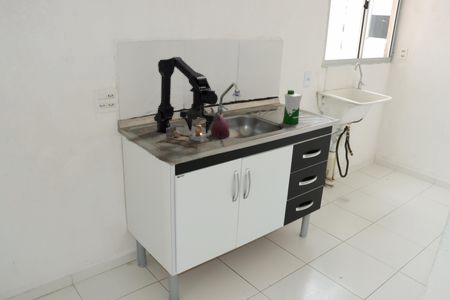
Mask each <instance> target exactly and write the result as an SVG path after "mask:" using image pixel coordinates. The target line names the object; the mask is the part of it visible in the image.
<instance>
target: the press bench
mask: <svg viewBox="0 0 450 300" xmlns="http://www.w3.org/2000/svg"><path fill="white" fill-rule="evenodd" d="M189 135H190V134H186V133H185V134H184V133H180V131H178V130H177V125H170V127H169V128H166V133H165V136H166V137H165V138H163V142H165V143H171V144H175V145H181V146H187V147H193V148H196V149H197V148H198V149H199V148H200V147H201V146H203V145H206V144H207V143H209V142H210V139H209V138H206V140H205V141H204V142H202V143H198V142H194V141H189Z"/></svg>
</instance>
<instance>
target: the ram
mask: <svg viewBox="0 0 450 300" xmlns="http://www.w3.org/2000/svg"><path fill="white" fill-rule="evenodd" d="M202 129H203V127H202V125H201V124H196V125H195V131H194V132H192V133H190V134H188V135H189V141H194V142H198V143H202V142H204V141H205V140H206V139H207V134H206V133H202Z"/></svg>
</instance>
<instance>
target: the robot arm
mask: <svg viewBox="0 0 450 300" xmlns="http://www.w3.org/2000/svg"><path fill="white" fill-rule="evenodd" d="M175 68H176V69H177V70H178V71H179V72H180V73H181V74H183V76H184V77H186V79H188V83H189V85H190V86H191V89H189V92H191V93H192V103H191V107H190V108H189V109H184V110H181V111H180V113H179V117H180V118H181V119H183V120H184V121H185V122H186V125H187V127H188V128H187V129H189V130H188V131H189V132H192V128H193V121H195V120H197V119H198V118H201V119H205V121H204V123H205V134H206V135H208V132H210V131H209V130H210V129H211V127H212V124H213V122H214V121H215V120H217V119H218V116H217V114H216V113H208V114H206V110H205V106H206V104H207V105H210V106H215V105H217V103H218V101H219V100H218V99H219V97H218V95H217V93H216V91H215V90H212V88H211V86H210V84H209V81H208V80H207V77H206V76H205V75H204V74H202V73H200V72H197V71H195V70H194V69H193V68H192V67H191V66H190V65H188V63H186V62H185V61H184V60H183V58H182V57H180V56H173V57H171V58H168V59H167V58H166V59H165V58H163V59H160V60H159V61H158V64H157V71H158V73H159V74H160V77H161V79H160V80H161V81H160V83H161V85H160V86H161V87H160V91H161V92H160V104H159V106H157V112H156V114H155V115H154V116H153V120H154V122H156V127H157V128H156V130H155V132H156V133H161V134H166V128H169V127H171V123H170V121H172V120H173V116H174V114H175V107H174V106H173V105H172V103H171V89H172V88H171V87H172V86H171V85H172V76H173V74H174V73H175Z"/></svg>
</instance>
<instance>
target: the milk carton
mask: <svg viewBox="0 0 450 300" xmlns="http://www.w3.org/2000/svg"><path fill="white" fill-rule="evenodd" d="M302 96H303V95H302V94H299V93H295V90H293V89H289V90H288V89H287V93H285V94H284V111H283V119H282V123H284V124H287V125H288V124H289V125H291V126H292V125H295V124H298V123H299V121H300V120H299V117H300V106H301V105H300V104H301V101H302Z"/></svg>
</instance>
